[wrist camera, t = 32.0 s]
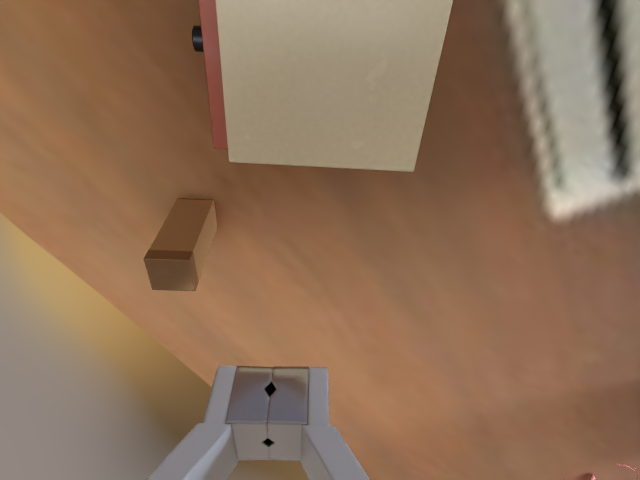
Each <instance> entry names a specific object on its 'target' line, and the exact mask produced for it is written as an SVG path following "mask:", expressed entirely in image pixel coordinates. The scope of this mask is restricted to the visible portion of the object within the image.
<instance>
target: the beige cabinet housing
mask: <svg viewBox="0 0 640 480" xmlns="http://www.w3.org/2000/svg"><path fill="white" fill-rule="evenodd" d="M452 3H453V0H216V12H217V24H218V36H219V48H220V60H221V72H222V84H223V96H224V108H225V120H226V132H227V144H228V156H229V162H238V163H258V164H277V165H296V166H315V167H334V168H353V169H372V170H391V171H410V172H414V168H415V164H416V159H417V155H418V151H419V146H420V142H421V138H422V133H423V129H424V125H425V120H426V116H427V112H428V107H429V103H430V99H431V94H432V90H433V85H434V81H435V77H436V72H437V68H438V64H439V59H440V55H441V51H442V46H443V42H444V38H445V33H446V29H447V25H448V20H449V16H450V12H451V7H452Z"/></svg>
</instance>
